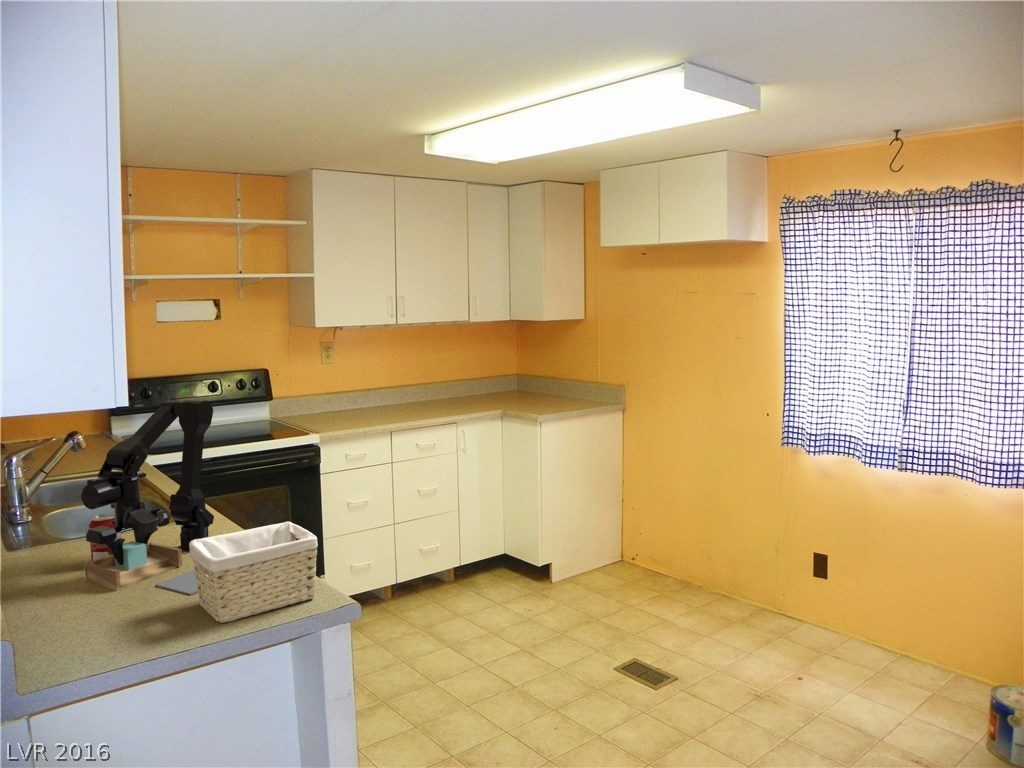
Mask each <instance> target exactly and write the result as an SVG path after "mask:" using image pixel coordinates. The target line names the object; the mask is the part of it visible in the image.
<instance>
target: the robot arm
mask: <svg viewBox="0 0 1024 768" xmlns="http://www.w3.org/2000/svg"><path fill="white" fill-rule="evenodd" d="M213 415H214V407H213V405H212V404H211V402H209V401H208V400H199V399H198V400H196V399H185V400H183V401H182V402H180V401H177V400H164V401H162V402H160V404H159V406H158V408H157V409H156V410H155V411H154V412H153V414H152V415H150V417H149V418H148V419H147V420H146V421H145V422H144V423H143V424H142V425H141V426H140V427H139V428H138V429H137V430H136V431H135V433H134V434H132V435H131V436H130V437H128V438H126V439H124V440H122V441H119V442H118V443H116V444H115V445H114V446H112V447H111V448H110V449H109V450H108V451H107V453H106V458H105V460H104V462H103V464H102V466H101V468H100V469H99V471H98V473H97V478H91V479H90V478H89V479H87V481H86V486H84V487H83V488H82V490H81V493H80V498H81V502H82V504H83V505H84V506H85V508H87V509H88V510H90V511H91V510H96V509H99V508H103V507H105V506H109V505H110V508H111V509H114V514H115V520H112V524H113V525H116V527H112V528H110V527H106V526H99V527H96V528H92V529H89V528H88V530H87V531H86V533H85V538H86V539H85V540H86V542H87V543H90V542H92V543H96V544H106V545H107V546H108V547H109V549H110V550H111V552H112V553H113V555H114V557H115V558H116V560H117V562H118V563H119V565H123V560H124V558H123V544H125V542H126V539H125V538H123V537H122V534H123V533H126V532H129V531H133V536H134V542H139V543H143V544H146V546H147V543H149V540H150V537H151V536H152V535H153V534H154V533H155V532H157V531H158V530H159V528H160V527H161V528H162V527H164V526H167V525H170V518H169V517H170V516H171V517H172V520H173V521H174V523H175V526H180V533H179V538H180V539H179V540H180V542H179V543H180V545H178V546H177V548H180V549H181V550H184V549H185V550H184V551H188V550H189V552H190V547H189V543H190V542H191V541H193V540H195V539H202V538H207V537H210V536H209V527H210V525H213V524H214V518H215V516H214V515H213V513H211V511H209V510H208V509H207V508H206V497H205V496H204V494H203V492H202V490H201V479H202V468H203V467H202V464H203V451H204V438H205V434H206V432H207V431H208V430H209V428H210V426H211V425H212V421H213ZM177 418H178V424H179V425H180V429H181V430H182V432H183V440H182V441H183V444H182V452H181V453H182V455H181V456H182V457H181V466H180V480H179V488H178V489H177V491H176V492H175V494H174V493H171V494H170V496H169V507H168V510H169V511H170V516H169V515H168V514H167V513H166V512H164V509H162V508H160V507H157V508H154V509H150V510H149V509H148V510H147V509H146V505H145V502H144V501H143V500H141V491H140V489H141V488H140V479H141V478H145V477H146V476H147V474H146V473H145V472H143V470H141V467H142V466H143V464H144V463H145V461H146V460H147V458H148V456H149V455H148V454H149V453H148V452H149V450H150V448H151V447H152V446H153V445H154V443H155V442H156V441H157V440H158V439H159V438H160V437H161V436H162V435H163V434H164V433H165V431H166V430H167V429H168V428H169V427H170V426H171V425H172V423H173V424H174V421H176V419H177Z"/></svg>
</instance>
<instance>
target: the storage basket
mask: <svg viewBox="0 0 1024 768" xmlns="http://www.w3.org/2000/svg"><path fill="white" fill-rule="evenodd" d="M296 539H297V540H296ZM318 546H319V544H318V537H317V536H316V535H315V534H313V532H310V531H309V530H307V529H306V528H303V527H302V526H300V525H297V524H295V523H293V522H291V521H285V522H281V523H280V522H279V523H275V524H269V525H265V526H259V527H255V528H254V527H253V528H249V529H243V530H241V531H240V530H239V531H236V532H230V533H224V534H219V535H212V536H209V537H207V538H202V539H195V540H193V541H191V542H190V543H189V547H190V551H189V556H190V558H191V560H192V562H193V564H192V565H193V568H194V569H193V570H194V572H195V576H196V583H197V587H198V600H199V604H200V606H201V607H202V608H203V609H204V610H205V611H206V612H207V613H208V614H209V615H210V616H211V617H212V618H213V619H214V620H215V621H216V622H218V623H220V624H221V623H223V624H224V623H227V622H228V623H229V622H234V621H236V620H239V619H242V618H246V617H249V616H254V615H259V614H261V613H264V612H269V611H270V610H277V609H280V608H283V607H286V606H289V605H295V604H297V603H301V602H305V601H307V600H311V599H314V598H315V597H316V586H317V585H316V581H317V579H316V575H317V573H316V572H317V555H318Z"/></svg>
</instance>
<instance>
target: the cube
mask: <svg viewBox="0 0 1024 768" xmlns="http://www.w3.org/2000/svg"><path fill="white" fill-rule="evenodd" d="M123 558H124V560H123V565H119V563H118V562H117V560H116V558H115V567H118V568H122V569H126V570H131V569H134V568H137V567H140V566H143V565H145V564H147V552H146V544H143V543H139V542H135V540H134V541H133V540H132V541H128V542H126V543H125V542H124V543H123Z"/></svg>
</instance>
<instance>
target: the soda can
mask: <svg viewBox="0 0 1024 768" xmlns="http://www.w3.org/2000/svg"><path fill="white" fill-rule="evenodd" d="M90 519H91V521H90V523H89V525H88V530H89V529H92V528H96V527H99V526H106V527H110V528H112V527H116V525H113V524H112V520H115V513H101V514H97V515H94V516H91V518H90ZM89 546H90V558H91V559H90V560H91V561H94V560H97V559H101V558H104V557H107V556H110V555H113V553H112V552H111V550H110V549H109V547H108V546H107V545H106V544H96V543H92V542H89ZM91 561H90V562H91Z"/></svg>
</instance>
